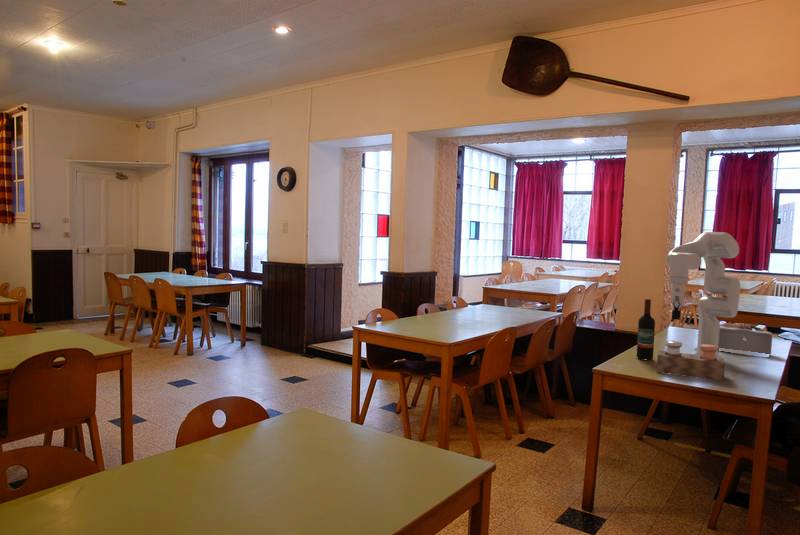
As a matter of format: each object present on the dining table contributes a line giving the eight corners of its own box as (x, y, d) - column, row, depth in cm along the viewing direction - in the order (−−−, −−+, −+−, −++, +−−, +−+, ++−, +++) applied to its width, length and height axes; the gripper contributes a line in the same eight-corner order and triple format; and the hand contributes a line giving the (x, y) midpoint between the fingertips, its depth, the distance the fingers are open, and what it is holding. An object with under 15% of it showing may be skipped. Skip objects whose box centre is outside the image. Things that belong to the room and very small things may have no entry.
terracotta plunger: (699, 365, 236) (700, 346, 235) (699, 362, 242) (700, 343, 241) (717, 367, 233) (718, 348, 232) (716, 364, 238) (717, 345, 238)
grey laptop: (771, 353, 288) (773, 330, 287) (770, 358, 275) (772, 334, 274) (717, 346, 303) (719, 324, 302) (714, 351, 290) (716, 328, 289)
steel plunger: (664, 361, 243) (665, 342, 242) (664, 358, 249) (665, 340, 248) (680, 363, 239) (682, 344, 239) (681, 360, 245) (682, 341, 245)
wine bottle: (655, 358, 269) (658, 299, 266) (650, 361, 263) (653, 301, 261) (639, 356, 274) (642, 298, 272) (634, 358, 268) (637, 299, 266)
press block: (656, 372, 242) (657, 354, 242) (658, 367, 252) (659, 350, 251) (723, 381, 230) (724, 362, 229) (722, 375, 239) (723, 357, 239)
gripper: (687, 282, 232) (685, 321, 233) (688, 280, 247) (685, 316, 248) (668, 281, 236) (666, 319, 237) (669, 278, 251) (667, 315, 252)
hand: (676, 318), depth 242 cm, fingers open, 9 cm apart
